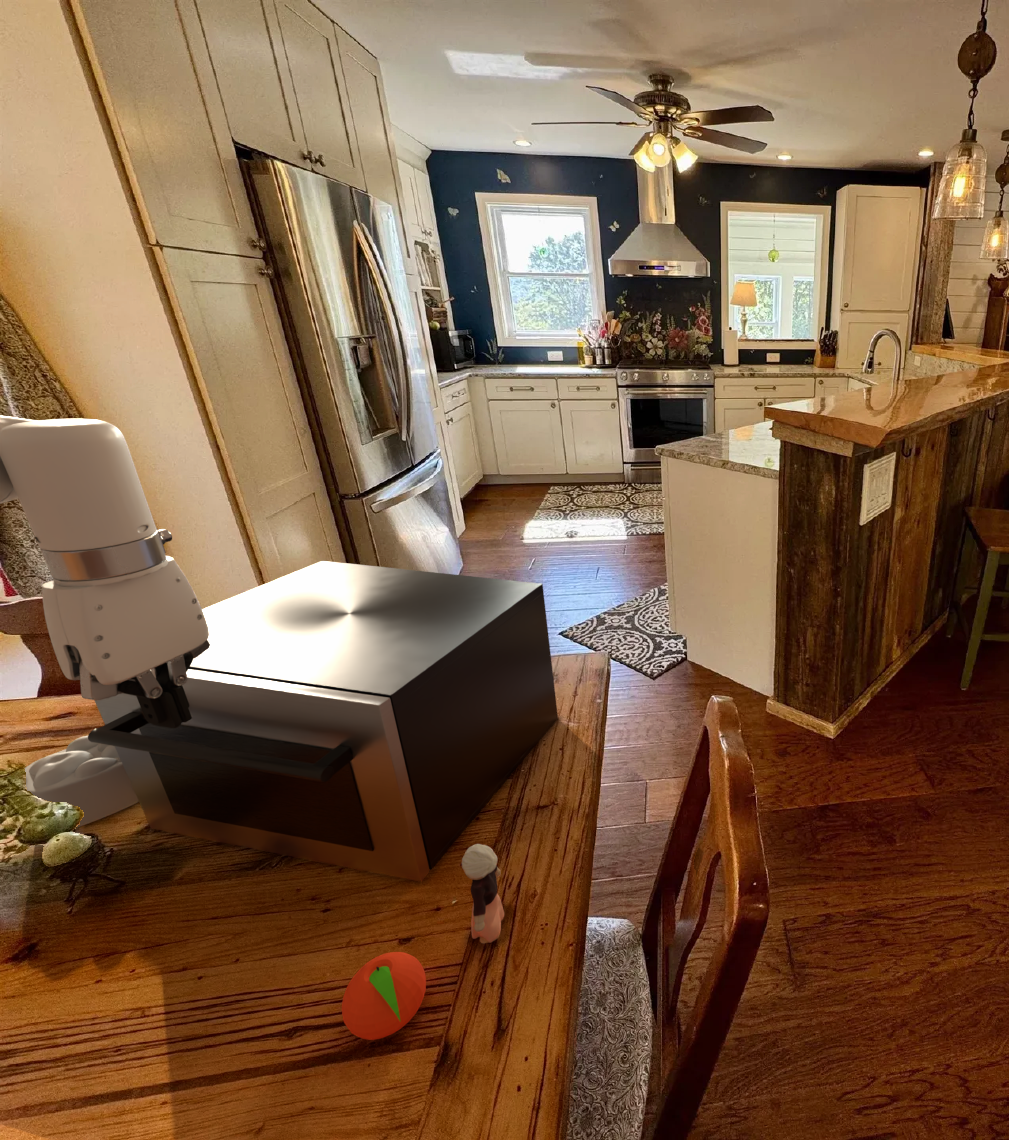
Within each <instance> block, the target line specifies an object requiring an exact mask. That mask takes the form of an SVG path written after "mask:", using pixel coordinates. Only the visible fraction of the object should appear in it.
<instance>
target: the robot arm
mask: <svg viewBox="0 0 1009 1140" xmlns="http://www.w3.org/2000/svg"><path fill="white" fill-rule="evenodd" d="M16 500H18V501H19V503H20V505H21V508H22V510H23V512H24V515H25V517H26V520H27V522H28V524H29V526H30V529H31V531H32V533H33V536H34V538H35V541H36V543H37V545H38V547H39V550H40V552H41V554H42V557H43V559H44V561H45V564H46V566H47V569H48V571H49V573H50V576H51V578H52V580H50V581H47V582H45V583H43V584H42V585H41V597H42V607H43V614H44V619H45V624H46V629H47V632H48V635H49V638H50V642H51V646H52V648H53V652H54V655H55V657H56V660H57V663H58V665H59V668H60V669H61V672H62V674H63V675H64V677H65V678H66V679H68V680H70V681H80V683H79V685H80V695H81V698H82V699H85V700H91V701H94V700H102V699H105V698H109V697H113V696H116V695H118V694H122V693H124V694H129V695H133V696H136V697H137V699H138V702H139V704H140V707H141V709H142V712H143V714H144V717H145V719H146V720H147V722H149V723H150V724H152V725H155V726H161V727H168V728H177V727H178V726H180V725H181V723H182V722H187V721H189V720H191V719H192V716H191V714H190V711H189V706H190V705H189V702H188V699H187V697H186V694H185V691H184V689H183V686H182V685H184V684H185V683H186V681H187V673H186V672H187V671H188V669H189V667H190V665H191V663H192V661H193V659H194V658H196V657H198V656H199V655H201V654H202V653H203V652H205V651H206V650H207V649H208V648H209V647H210V642H209V641H208V640H207V639H208V637H209V630H208V625H207V622H206V619H205V616H204V613H203V611H202V609H203V607H202V605H201V604H200V601H199V599H198V596H197V594H196V592H195V591H194V589H193V588H194V587H192V585H191V583H190V581H189V579H188V577H187V576H186V575H185V572H184V571H183V570H182V568H181V567H180V565H179V564H178V562H177V561H176V560H175V559H174V557H172V556H170V555H166V554H167V552H166V549H165V546H164V545H165V544H166V543H169V542H171V541H172V540H173V535H172V533H171V532H170V531H169V530H168V529H166V528H161V529H159V528H157V525H156V523H155V520H154V517H153V514H152V512H151V509H150V506H149V503H148V500H147V497H146V494H145V491H144V489H143V486H142V482H141V480H140V477H139V474H138V471H137V468H136V465H135V463H134V460H133V457H132V454H131V450H130V448H129V446H128V442H127V440H126V438H125V435H124V434H123V432H122V431H121V430H120V429H119V428H118V427H117V426H116V425H114V424H112V423H110V422H108V421H105V420H100V419H93V418H56V419H55V418H54V419H40V420H37V419H29V418H20V417H15V416H8V415H7V416H6V415H0V504H4V503H8V502H10V501H11V502H12V501H16Z"/></svg>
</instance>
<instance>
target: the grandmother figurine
mask: <svg viewBox="0 0 1009 1140" xmlns="http://www.w3.org/2000/svg"><path fill="white" fill-rule="evenodd" d="M497 864H498V856H497V855H496V853H495V851H494V849H492V848H491V846H488V845H487V844H481V843H475V844H473V845H471V846H468V848H467V849H466V851H465V853H464V855H463V857H462V858H461V868H462V870H463V871H464V874H465V875H466V877H467V878H469V879H470V880H471V885H470V894H471V897H472V910H471V921H470V924H471V925H470V926H471V928H470V930H471V938H472V939H473V940H476V939H478V938H479V942H480V943H481V944H487V943H493V942H494V941H496V940H498V939H499V938H500V935H501V932H502V931H501V929H502V921H503V920H504V918H505V911H504V907H503V904H502V900H501V897H500V895H499V894H498V887H499V886H498V878H499V877H500V876H501V874H502V871H501V869H500V868H499V867H498V865H497Z"/></svg>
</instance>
